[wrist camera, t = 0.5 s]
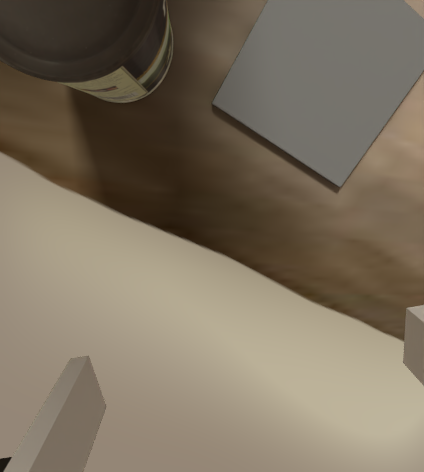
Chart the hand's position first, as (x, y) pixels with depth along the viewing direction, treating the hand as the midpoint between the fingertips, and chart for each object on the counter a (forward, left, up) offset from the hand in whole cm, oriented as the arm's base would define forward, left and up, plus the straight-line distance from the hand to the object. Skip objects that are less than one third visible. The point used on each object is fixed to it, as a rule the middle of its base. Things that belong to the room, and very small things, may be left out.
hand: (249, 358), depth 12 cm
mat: (-18, +2, -22) cm, 28 cm away
